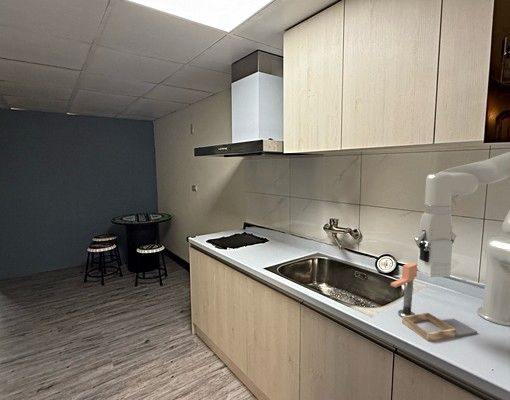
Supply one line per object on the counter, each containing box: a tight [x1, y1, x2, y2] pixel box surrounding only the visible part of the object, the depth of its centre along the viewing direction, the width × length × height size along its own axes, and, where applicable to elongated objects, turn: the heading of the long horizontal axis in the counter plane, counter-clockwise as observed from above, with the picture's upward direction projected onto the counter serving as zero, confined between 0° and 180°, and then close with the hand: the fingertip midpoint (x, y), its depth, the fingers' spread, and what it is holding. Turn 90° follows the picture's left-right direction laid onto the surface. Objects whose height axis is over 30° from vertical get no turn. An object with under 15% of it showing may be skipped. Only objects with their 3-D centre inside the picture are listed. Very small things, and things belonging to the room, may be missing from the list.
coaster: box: [440, 318, 478, 338], centre depth 104 cm, size 9×9×1 cm
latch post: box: [397, 280, 416, 318], centre depth 112 cm, size 6×6×14 cm
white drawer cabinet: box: [417, 239, 453, 278], centre depth 100 cm, size 7×7×13 cm
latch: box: [390, 262, 418, 288], centre depth 109 cm, size 2×14×6 cm, turn 124°
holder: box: [401, 312, 456, 342], centre depth 103 cm, size 12×12×2 cm
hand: (434, 259), depth 100 cm, fingers closed on white drawer cabinet, 8 cm apart
